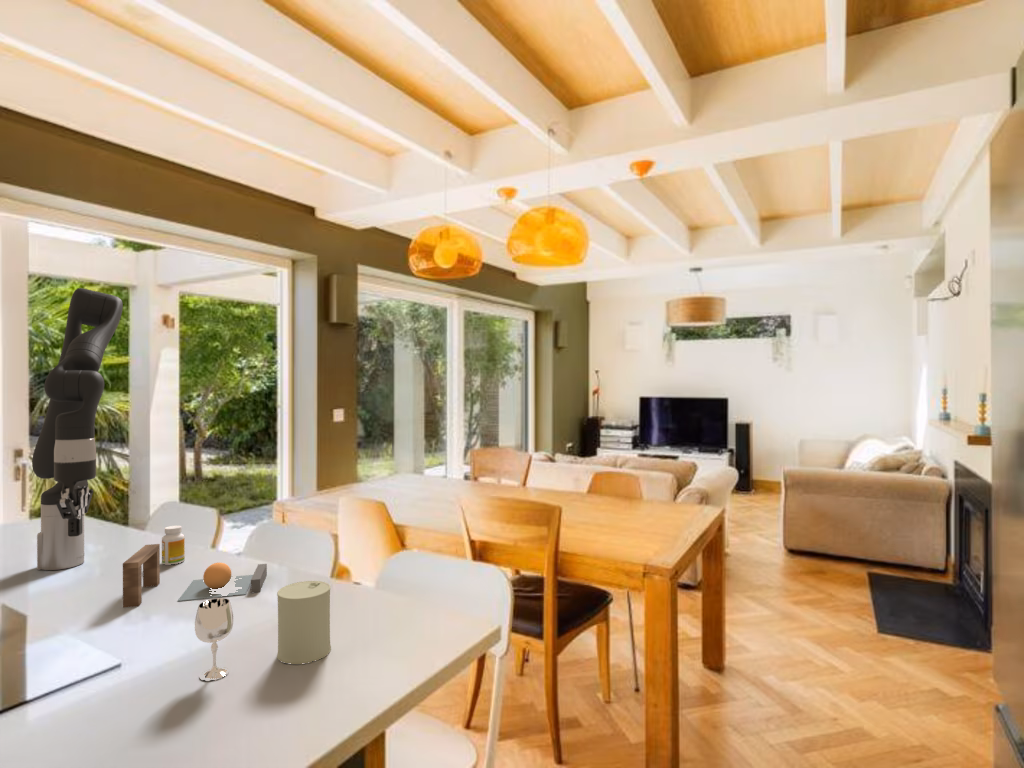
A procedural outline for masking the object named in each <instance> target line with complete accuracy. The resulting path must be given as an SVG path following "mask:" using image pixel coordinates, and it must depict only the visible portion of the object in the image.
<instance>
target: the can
mask: <svg viewBox="0 0 1024 768" xmlns="http://www.w3.org/2000/svg"><path fill="white" fill-rule="evenodd" d="M276 596H277V640H278V641H277V655H276V659H277V660H278V659H279V660H280V661H282V662H285V663H291V664H301V665H303V664H302V663H307V664H309V663H308V662H311V663H313V662H312V661H315V660H317V661H319V659H320V660H321V658H322V659H324V658H325V657H327V654H330V652H331V650H332V645H331V585H330V584H329V583H328V582H325V581H320V580H304V581H299V582H294V583H290V584H288V585H284V586H283V587H281V588H280V589H279V590H277V594H276ZM279 660H278V661H279ZM280 661H279V662H280ZM282 662H281V663H282ZM315 662H316V661H315Z"/></svg>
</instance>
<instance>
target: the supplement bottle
mask: <svg viewBox="0 0 1024 768" xmlns="http://www.w3.org/2000/svg"><path fill="white" fill-rule="evenodd" d="M182 529H183V528H182V525H170V526H166V527H164V534H165V535H163V536H162V537H161V564H162V565H163V564H165V565H164V566H172V565H171V564H175V565H178V563H179V564H182V563H183V562H184V561H185V560H186V559H185V556H186V555H185V552H186V551H185V549H186V547H185V543H186V542H185V535H184V534H183V533H182ZM181 562H182V563H181Z"/></svg>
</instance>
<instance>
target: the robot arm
mask: <svg viewBox="0 0 1024 768" xmlns="http://www.w3.org/2000/svg"><path fill="white" fill-rule="evenodd" d="M123 304H124V303H123V300H122V299H121V298H120V297H119V296H116V295H113V294H108V293H105V292H100V291H96V290H92V289H87V288H84V287H83V288H82V287H79V288H76V289H75V290H74V291H73V293H72V295H71V299H70V302H69V307H68V313H67V319H66V324H65V331H64V337H63V344H62V349H61V353H60V357H59V361H58V364H56V365H55V366H54V367H53V368H52V370H50V372H49V373H48V374H47V376H46V378H45V381H44V385H43V388H44V393H45V395H46V396H47V397H48V398H49V403H48V407H47V410H46V414H45V419H44V422H43V424H42V427H41V430H40V433H39V435H38V438H37V441H36V444H35V447H34V450H33V455H32V459H31V468H32V471H33V473H34V475H35V476H36V477H38V478H40V479H42V480H45V479H46V480H47V479H48V480H49V479H53V480H54V481H55V482H56V483H55V484H54V485H53V486H52V487H50V488H49V489H46V490H45V491H43V492H42V493H41V495H40V532H38V533H37V535H36V570H37V571H39V570H43V571H58V570H65V569H70V568H74V567H77V566H80V565H82V564H84V563H85V514H87V513H88V511H89V508H90V505H91V501H92V497H93V495H94V490H93V488H91V489H90V487H89V482H88V481H90V480H93V479H95V478H96V476H97V445H96V441H95V437H96V436H95V435H96V432H95V430H96V429H95V428H96V426H95V425H96V424H95V423H96V415H97V411H98V406H99V404H100V401H101V398H102V395H103V392H104V390H105V379H104V377H103V375H102V374H101V373H99V371H100V369H101V365H102V363H103V362H102V361H103V358H104V353H105V351H106V350H107V347H108V345H109V343H110V341H111V340H112V337H113V335H114V334H115V332H116V330H117V328H118V326H119V324H120V321H121V318H122V313H123ZM82 325H85V326H91V327H93V328H92V329H90V330H87V331H85V332H82V331H83V330H82Z"/></svg>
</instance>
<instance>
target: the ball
mask: <svg viewBox="0 0 1024 768" xmlns="http://www.w3.org/2000/svg"><path fill="white" fill-rule="evenodd" d="M204 570H205V571H204V572H203V577H202V579H203V580H204V583H205V584H206V585H207V586H208V587H209V588H212V589H218V588H222V587H224V586H225V585H226V584H227V583H228V582H229V581H230V579H231V577H232V569H231V568H230V566H229V565H228V564H227V563H225V562H214V563H211V564H210V565H209V566H207V568H206V569H204Z"/></svg>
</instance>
